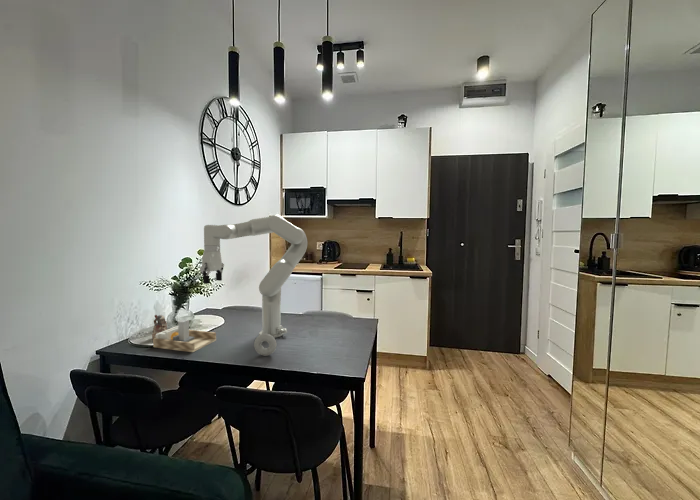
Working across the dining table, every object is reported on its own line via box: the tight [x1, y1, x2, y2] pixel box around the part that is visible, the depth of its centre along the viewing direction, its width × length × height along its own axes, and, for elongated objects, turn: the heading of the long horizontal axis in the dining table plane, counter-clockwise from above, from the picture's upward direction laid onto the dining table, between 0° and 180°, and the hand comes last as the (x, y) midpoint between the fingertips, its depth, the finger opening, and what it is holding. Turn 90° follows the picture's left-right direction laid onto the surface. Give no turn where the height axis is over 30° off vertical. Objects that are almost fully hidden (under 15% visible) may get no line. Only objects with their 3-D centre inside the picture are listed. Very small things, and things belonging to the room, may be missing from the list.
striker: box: [173, 319, 194, 342], centre depth 156 cm, size 5×8×10 cm, turn 165°
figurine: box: [151, 314, 168, 340], centre depth 163 cm, size 7×7×12 cm
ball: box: [171, 332, 179, 340], centre depth 157 cm, size 4×4×4 cm
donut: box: [253, 334, 277, 357], centre depth 143 cm, size 10×4×10 cm, turn 87°
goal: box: [156, 325, 178, 340], centre depth 158 cm, size 6×14×6 cm, turn 165°
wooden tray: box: [152, 329, 217, 353], centre depth 156 cm, size 22×16×4 cm
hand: (212, 281), depth 166 cm, fingers open, 9 cm apart
